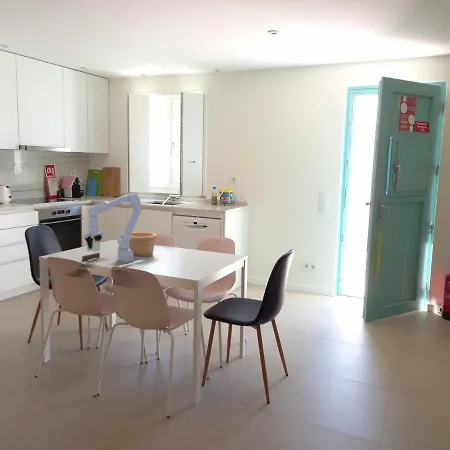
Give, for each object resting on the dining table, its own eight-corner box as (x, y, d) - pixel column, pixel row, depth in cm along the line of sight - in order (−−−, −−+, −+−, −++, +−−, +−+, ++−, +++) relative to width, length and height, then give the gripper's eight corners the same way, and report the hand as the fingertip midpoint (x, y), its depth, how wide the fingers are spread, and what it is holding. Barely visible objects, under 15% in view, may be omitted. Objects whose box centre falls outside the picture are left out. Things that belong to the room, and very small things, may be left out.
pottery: (133, 260, 295) (134, 238, 293) (118, 253, 312) (118, 233, 310) (162, 256, 309) (162, 235, 306) (146, 250, 325) (146, 230, 323)
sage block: (99, 250, 281) (99, 241, 280) (94, 251, 277) (93, 242, 276) (92, 249, 284) (92, 240, 283) (86, 250, 280) (86, 241, 279)
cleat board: (110, 261, 288) (110, 254, 288) (94, 265, 276) (93, 258, 276) (98, 259, 293) (98, 252, 292) (82, 263, 281) (81, 256, 280)
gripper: (97, 224, 286) (97, 245, 288) (79, 226, 274) (80, 248, 276) (105, 225, 283) (105, 246, 285) (88, 228, 270) (88, 250, 272)
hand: (93, 247), depth 280 cm, fingers closed on sage block, 5 cm apart
